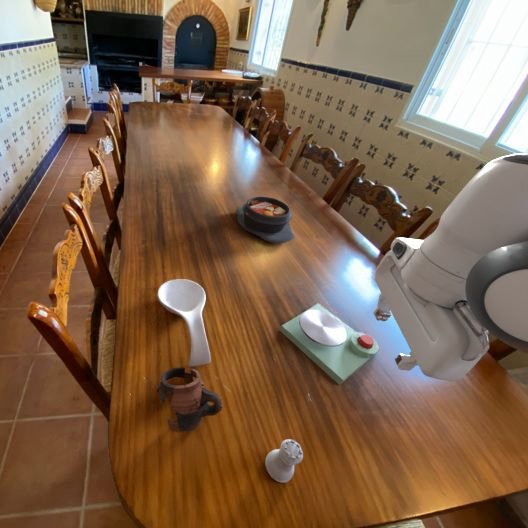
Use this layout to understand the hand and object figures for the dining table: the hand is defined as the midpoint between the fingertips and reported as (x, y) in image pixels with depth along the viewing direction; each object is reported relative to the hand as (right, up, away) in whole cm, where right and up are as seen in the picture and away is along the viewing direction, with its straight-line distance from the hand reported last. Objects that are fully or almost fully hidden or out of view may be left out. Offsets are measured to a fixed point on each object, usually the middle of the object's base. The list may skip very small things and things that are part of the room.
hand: (389, 340), depth 48 cm
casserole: (-4, +25, +59) cm, 64 cm away
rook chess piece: (-18, -21, +1) cm, 28 cm away
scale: (0, -6, +21) cm, 22 cm away
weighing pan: (-2, -2, +19) cm, 19 cm away
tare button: (+7, -5, +17) cm, 19 cm away
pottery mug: (-32, -14, +7) cm, 36 cm away
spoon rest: (-32, -2, +23) cm, 39 cm away
